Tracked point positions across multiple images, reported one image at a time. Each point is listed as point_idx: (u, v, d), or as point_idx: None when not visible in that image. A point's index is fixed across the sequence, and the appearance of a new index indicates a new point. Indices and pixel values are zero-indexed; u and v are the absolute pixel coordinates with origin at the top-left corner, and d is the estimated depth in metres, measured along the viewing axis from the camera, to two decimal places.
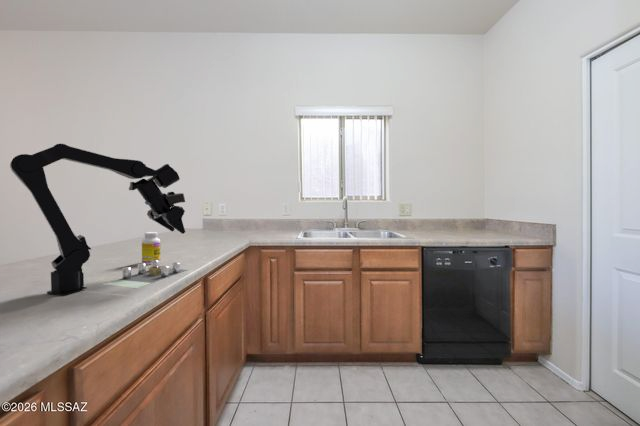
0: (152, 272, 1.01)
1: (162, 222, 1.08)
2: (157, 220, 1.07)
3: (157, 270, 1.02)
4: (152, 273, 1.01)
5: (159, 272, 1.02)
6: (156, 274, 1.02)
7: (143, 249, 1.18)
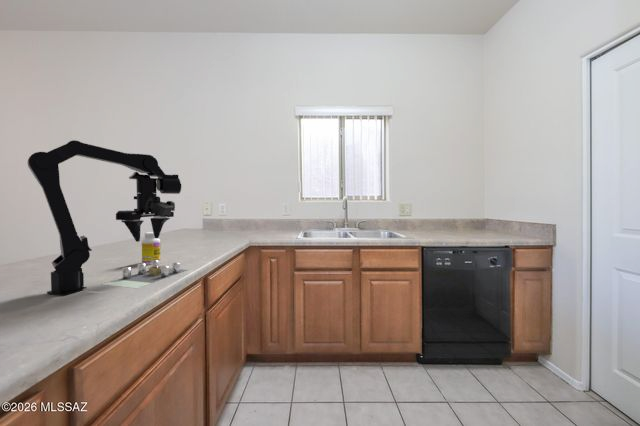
0: (152, 272, 1.01)
1: (153, 224, 1.04)
2: (151, 220, 1.04)
3: (157, 270, 1.02)
4: (152, 273, 1.01)
5: (159, 272, 1.02)
6: (156, 274, 1.02)
7: (143, 249, 1.18)
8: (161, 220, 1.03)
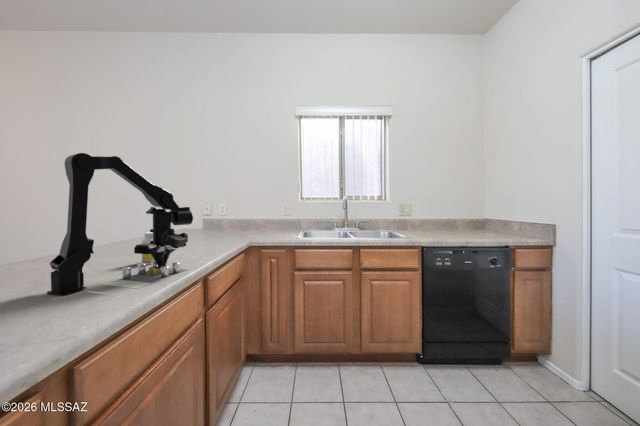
0: (152, 272, 1.01)
1: None
2: None
3: (157, 270, 1.02)
4: (152, 273, 1.01)
5: (159, 272, 1.02)
6: (156, 274, 1.02)
7: None
8: (167, 252, 1.06)
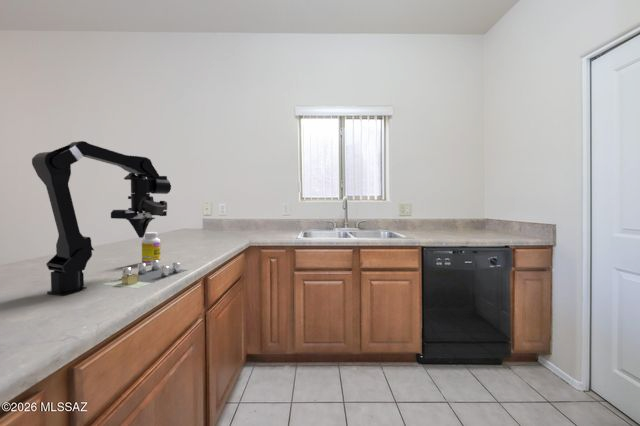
0: (126, 281, 0.91)
1: None
2: None
3: (131, 278, 0.91)
4: (126, 282, 0.91)
5: (134, 280, 0.92)
6: (130, 283, 0.91)
7: (143, 249, 1.18)
8: (146, 219, 1.05)
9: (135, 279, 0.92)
